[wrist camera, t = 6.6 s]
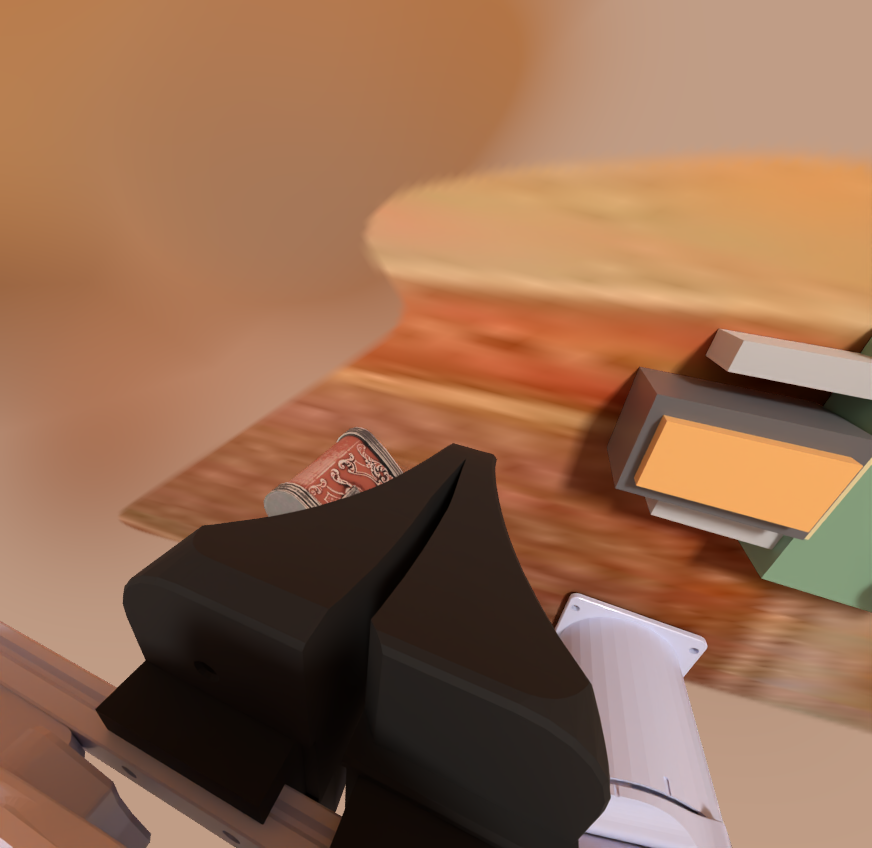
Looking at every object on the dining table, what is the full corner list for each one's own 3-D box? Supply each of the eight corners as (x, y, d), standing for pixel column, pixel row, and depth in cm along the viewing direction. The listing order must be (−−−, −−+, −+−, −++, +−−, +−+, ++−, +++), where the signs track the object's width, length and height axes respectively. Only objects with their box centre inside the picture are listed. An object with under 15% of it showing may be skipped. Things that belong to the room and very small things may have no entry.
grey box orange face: (756, 484, 17) (812, 551, 13) (606, 446, 19) (616, 496, 15) (812, 400, 15) (898, 450, 11) (639, 366, 17) (660, 399, 13)
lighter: (431, 515, 25) (360, 654, 16) (395, 527, 26) (313, 659, 18) (367, 419, 23) (249, 515, 14) (333, 437, 25) (208, 535, 16)
